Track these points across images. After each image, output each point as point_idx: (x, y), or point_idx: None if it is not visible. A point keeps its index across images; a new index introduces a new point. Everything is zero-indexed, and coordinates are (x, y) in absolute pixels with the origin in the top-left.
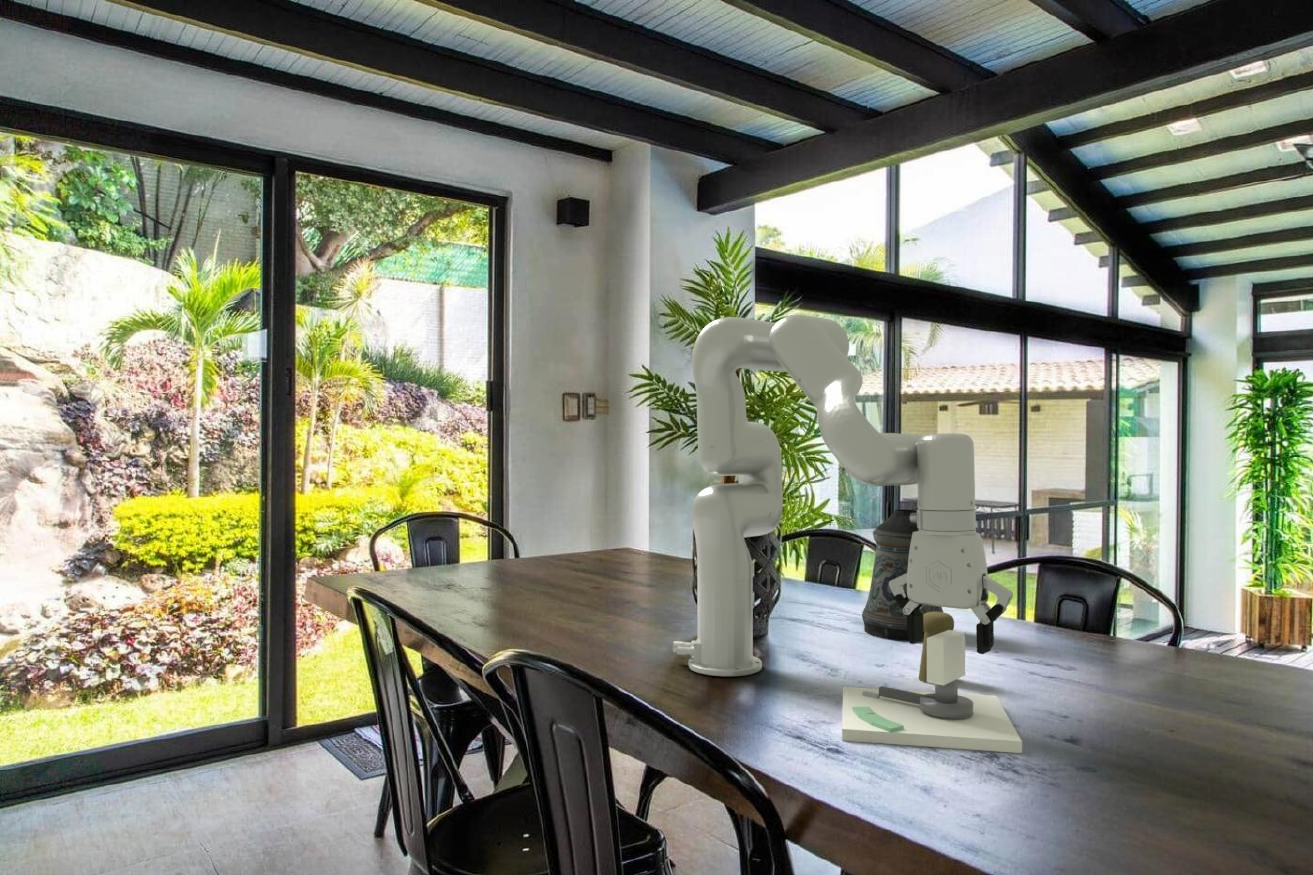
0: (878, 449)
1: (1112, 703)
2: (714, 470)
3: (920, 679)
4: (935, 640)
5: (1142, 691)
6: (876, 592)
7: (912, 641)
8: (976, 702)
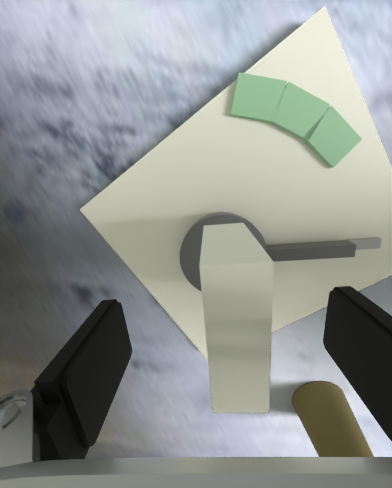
0: None
1: (128, 426)
2: None
3: (337, 386)
4: (232, 261)
5: None
6: None
7: (340, 288)
8: None
